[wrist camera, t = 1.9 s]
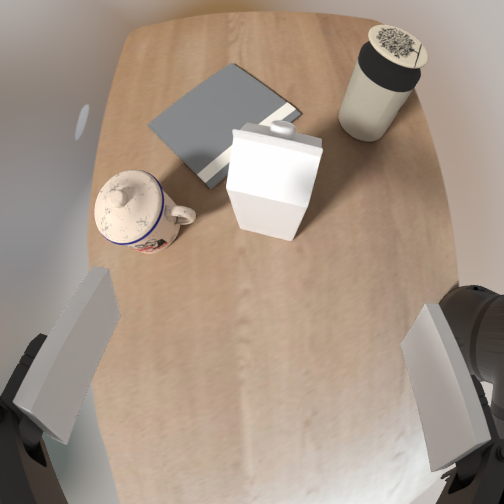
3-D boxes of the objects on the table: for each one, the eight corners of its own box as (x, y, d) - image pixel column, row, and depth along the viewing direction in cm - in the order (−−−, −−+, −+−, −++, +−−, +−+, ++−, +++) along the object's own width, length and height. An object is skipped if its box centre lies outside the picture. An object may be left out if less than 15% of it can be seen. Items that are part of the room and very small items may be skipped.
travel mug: (328, 122, 42) (355, 39, 25) (352, 94, 43) (381, 15, 26) (372, 152, 41) (420, 78, 24) (392, 121, 42) (437, 49, 25)
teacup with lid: (120, 253, 41) (75, 237, 29) (129, 193, 42) (91, 161, 30) (200, 259, 40) (175, 242, 28) (206, 194, 41) (186, 156, 30)
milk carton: (292, 241, 40) (314, 191, 21) (239, 229, 40) (219, 169, 22) (303, 192, 41) (329, 114, 22) (253, 180, 41) (244, 96, 23)
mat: (232, 65, 45) (231, 62, 44) (300, 115, 43) (301, 113, 42) (148, 126, 44) (147, 124, 43) (211, 189, 41) (210, 188, 41)
